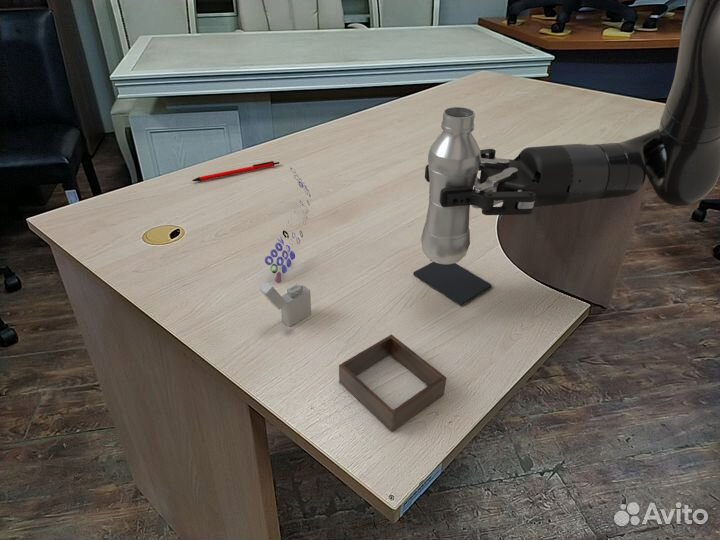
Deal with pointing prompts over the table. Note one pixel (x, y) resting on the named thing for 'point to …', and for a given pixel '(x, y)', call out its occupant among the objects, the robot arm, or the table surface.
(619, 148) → the robot arm
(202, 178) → the pen
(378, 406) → the bottle stand
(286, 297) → the lighter
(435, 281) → the mat
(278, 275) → the ring set
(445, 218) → the silver metal bottle
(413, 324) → the table surface
